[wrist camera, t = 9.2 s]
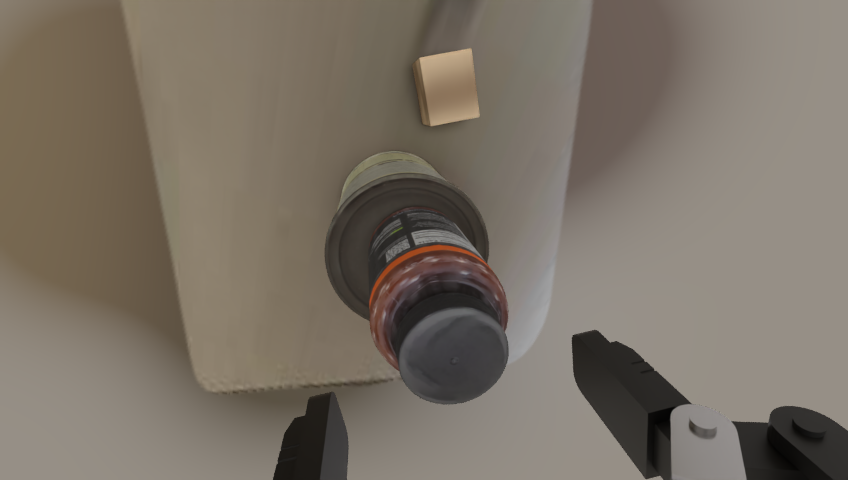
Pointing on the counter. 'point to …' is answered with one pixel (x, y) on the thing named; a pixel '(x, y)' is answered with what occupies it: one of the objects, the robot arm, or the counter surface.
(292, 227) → the counter surface
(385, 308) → the supplement bottle
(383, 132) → the counter surface
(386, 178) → the coffee can
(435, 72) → the tan metallic cube
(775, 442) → the robot arm
